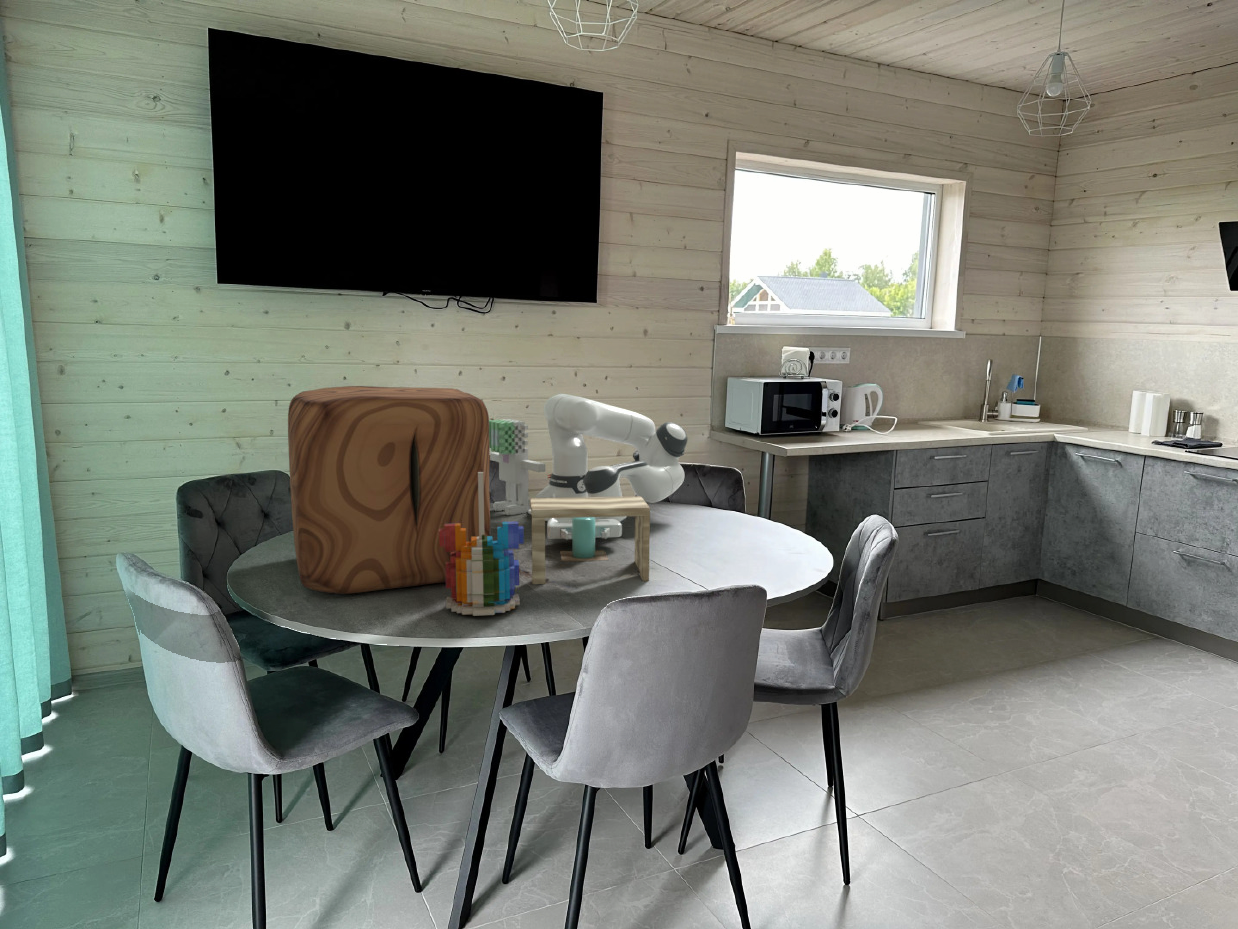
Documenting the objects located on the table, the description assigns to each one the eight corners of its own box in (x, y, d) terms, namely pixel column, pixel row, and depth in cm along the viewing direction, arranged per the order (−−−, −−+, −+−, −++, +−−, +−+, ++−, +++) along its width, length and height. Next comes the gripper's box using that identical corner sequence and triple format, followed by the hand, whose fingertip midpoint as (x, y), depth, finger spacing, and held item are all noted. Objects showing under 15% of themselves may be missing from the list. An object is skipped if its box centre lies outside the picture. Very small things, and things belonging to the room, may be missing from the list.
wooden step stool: (530, 568, 222) (530, 498, 219) (640, 564, 225) (641, 496, 223) (532, 584, 208) (531, 510, 205) (648, 580, 212) (649, 507, 209)
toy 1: (440, 622, 181) (436, 479, 177) (442, 599, 197) (439, 467, 192) (526, 618, 184) (525, 477, 180) (522, 595, 200) (520, 465, 195)
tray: (559, 554, 235) (559, 551, 235) (604, 553, 236) (604, 550, 236) (562, 564, 225) (562, 561, 225) (608, 563, 226) (608, 559, 226)
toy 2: (471, 506, 296) (469, 417, 291) (497, 502, 302) (495, 415, 298) (519, 522, 273) (518, 426, 268) (546, 517, 279) (545, 424, 275)
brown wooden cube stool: (292, 555, 232) (283, 385, 225) (460, 541, 249) (456, 382, 242) (299, 605, 191) (288, 399, 184) (499, 584, 208) (496, 394, 201)
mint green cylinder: (567, 555, 231) (567, 518, 229) (584, 551, 235) (584, 514, 233) (582, 559, 226) (582, 521, 225) (599, 555, 230) (599, 518, 229)
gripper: (619, 534, 246) (625, 546, 232) (545, 536, 243) (548, 549, 229) (619, 512, 245) (626, 523, 231) (545, 514, 242) (548, 525, 228)
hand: (586, 536), depth 230 cm, fingers open, 8 cm apart
